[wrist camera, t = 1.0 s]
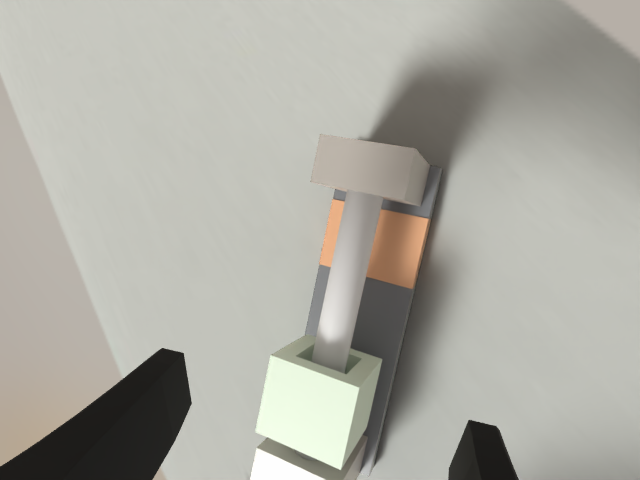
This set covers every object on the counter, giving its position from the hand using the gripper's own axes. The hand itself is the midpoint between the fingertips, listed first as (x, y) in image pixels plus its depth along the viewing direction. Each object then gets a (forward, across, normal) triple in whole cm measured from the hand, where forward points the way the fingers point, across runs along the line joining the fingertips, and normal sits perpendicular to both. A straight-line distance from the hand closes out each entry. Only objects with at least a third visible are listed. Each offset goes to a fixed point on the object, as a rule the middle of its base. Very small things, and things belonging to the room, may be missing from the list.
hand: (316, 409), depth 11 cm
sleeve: (+7, 0, +8) cm, 11 cm away
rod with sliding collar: (+11, 0, +6) cm, 12 cm away
